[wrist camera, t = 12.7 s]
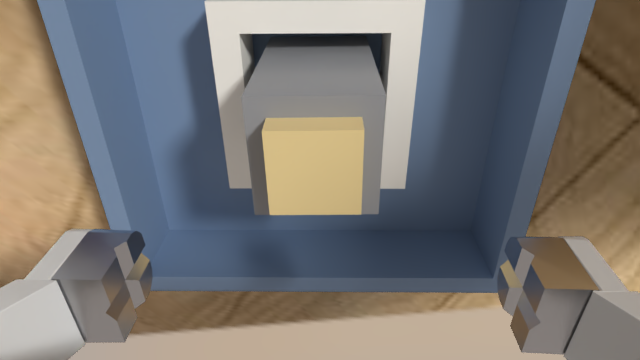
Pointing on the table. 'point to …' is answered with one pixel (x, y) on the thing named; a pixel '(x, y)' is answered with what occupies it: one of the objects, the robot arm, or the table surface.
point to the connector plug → (315, 127)
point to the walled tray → (398, 141)
